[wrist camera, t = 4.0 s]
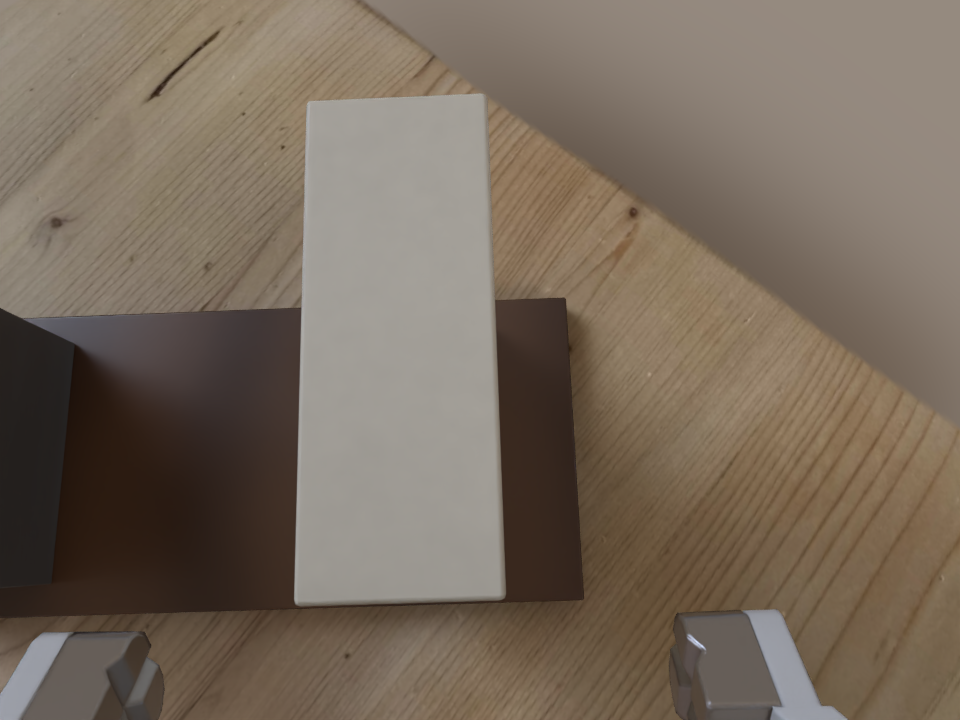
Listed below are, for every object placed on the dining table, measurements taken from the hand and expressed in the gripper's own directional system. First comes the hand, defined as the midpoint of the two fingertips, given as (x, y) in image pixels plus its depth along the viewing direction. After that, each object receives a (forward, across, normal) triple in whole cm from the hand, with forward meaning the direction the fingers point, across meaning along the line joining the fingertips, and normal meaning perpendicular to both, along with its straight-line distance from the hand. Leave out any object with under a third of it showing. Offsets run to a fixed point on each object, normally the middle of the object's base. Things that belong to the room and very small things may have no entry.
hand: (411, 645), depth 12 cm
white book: (+12, 0, +6) cm, 14 cm away
